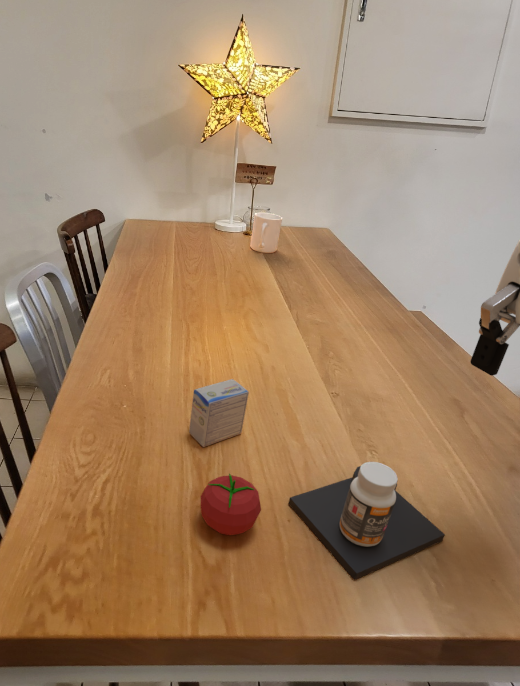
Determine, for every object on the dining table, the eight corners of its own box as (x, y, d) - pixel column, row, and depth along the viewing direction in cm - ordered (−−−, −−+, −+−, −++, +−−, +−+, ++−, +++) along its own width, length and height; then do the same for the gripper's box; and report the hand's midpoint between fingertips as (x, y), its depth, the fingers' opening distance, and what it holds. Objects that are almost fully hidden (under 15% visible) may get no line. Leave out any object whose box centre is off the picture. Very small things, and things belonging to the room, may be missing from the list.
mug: (275, 247, 192) (281, 214, 187) (278, 257, 182) (284, 222, 176) (249, 243, 192) (254, 211, 186) (250, 253, 181) (255, 219, 176)
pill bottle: (366, 556, 68) (386, 495, 63) (329, 528, 71) (346, 469, 67) (390, 535, 71) (411, 477, 67) (354, 510, 75) (372, 453, 70)
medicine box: (226, 420, 92) (232, 377, 88) (242, 434, 89) (249, 390, 85) (187, 433, 88) (193, 388, 84) (203, 448, 85) (209, 402, 81)
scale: (371, 476, 84) (376, 460, 82) (442, 540, 73) (449, 524, 72) (287, 503, 76) (291, 487, 75) (354, 580, 66) (360, 563, 64)
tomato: (191, 538, 68) (197, 492, 65) (203, 497, 75) (209, 453, 72) (253, 553, 67) (262, 507, 64) (260, 509, 74) (269, 466, 71)
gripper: (555, 232, 49) (490, 392, 57) (648, 228, 57) (580, 368, 65) (485, 210, 55) (434, 359, 62) (579, 210, 63) (523, 340, 71)
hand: (508, 363), depth 64 cm, fingers open, 9 cm apart
